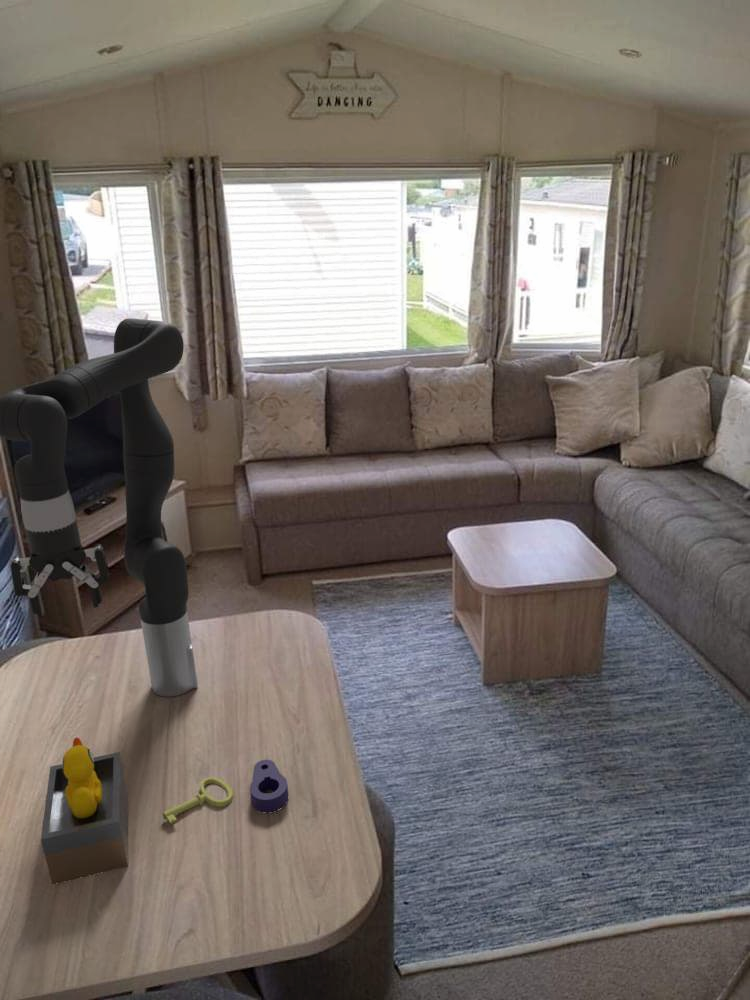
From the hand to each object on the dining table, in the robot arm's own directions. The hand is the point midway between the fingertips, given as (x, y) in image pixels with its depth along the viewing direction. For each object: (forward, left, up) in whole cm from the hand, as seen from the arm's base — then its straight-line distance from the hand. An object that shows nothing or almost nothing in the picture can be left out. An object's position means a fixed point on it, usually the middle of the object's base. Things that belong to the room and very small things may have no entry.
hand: (69, 609), depth 126 cm
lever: (-28, +14, -34) cm, 46 cm away
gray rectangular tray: (+1, +16, -33) cm, 37 cm away
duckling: (+1, +16, -27) cm, 31 cm away
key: (-16, +14, -34) cm, 40 cm away
